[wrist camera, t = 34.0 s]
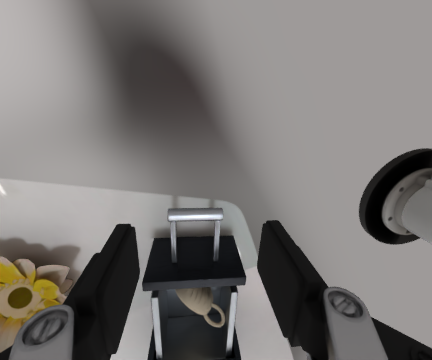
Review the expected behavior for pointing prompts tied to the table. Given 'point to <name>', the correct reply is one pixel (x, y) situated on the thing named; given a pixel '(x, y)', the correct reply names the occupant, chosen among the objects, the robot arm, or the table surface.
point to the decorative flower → (27, 294)
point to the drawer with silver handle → (193, 278)
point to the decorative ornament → (200, 302)
